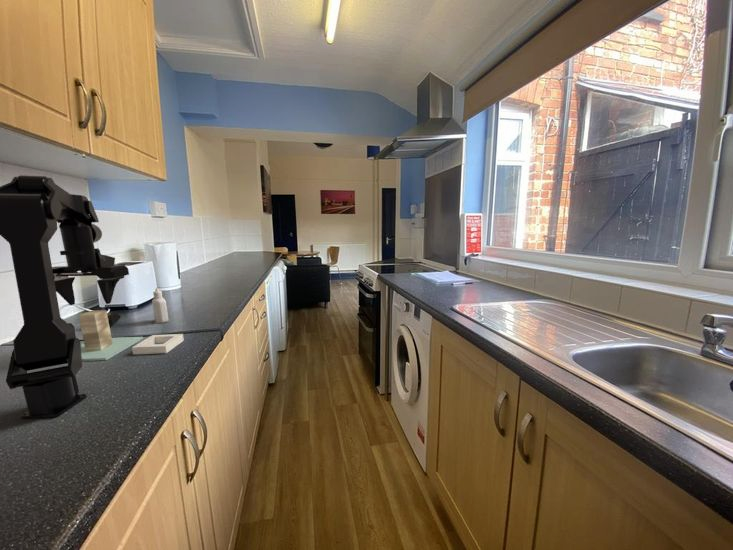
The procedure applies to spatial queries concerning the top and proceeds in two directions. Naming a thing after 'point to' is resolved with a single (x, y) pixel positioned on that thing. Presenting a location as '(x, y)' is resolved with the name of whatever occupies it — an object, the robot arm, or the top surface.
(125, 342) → the pad
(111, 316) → the tape measure
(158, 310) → the eye dropper bottle
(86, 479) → the top surface
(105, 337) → the peg
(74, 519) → the top surface
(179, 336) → the beige square frame
